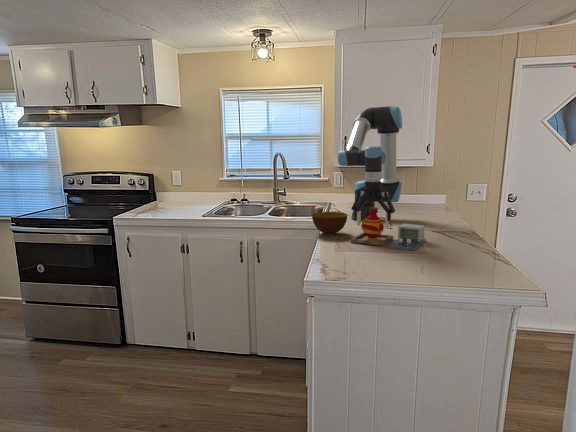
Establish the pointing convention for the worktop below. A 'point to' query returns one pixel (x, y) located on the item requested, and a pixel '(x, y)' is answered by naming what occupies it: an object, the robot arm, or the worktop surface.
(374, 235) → the potion bottle
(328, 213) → the bowl
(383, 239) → the tray
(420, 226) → the block
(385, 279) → the worktop surface
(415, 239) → the stub plate
